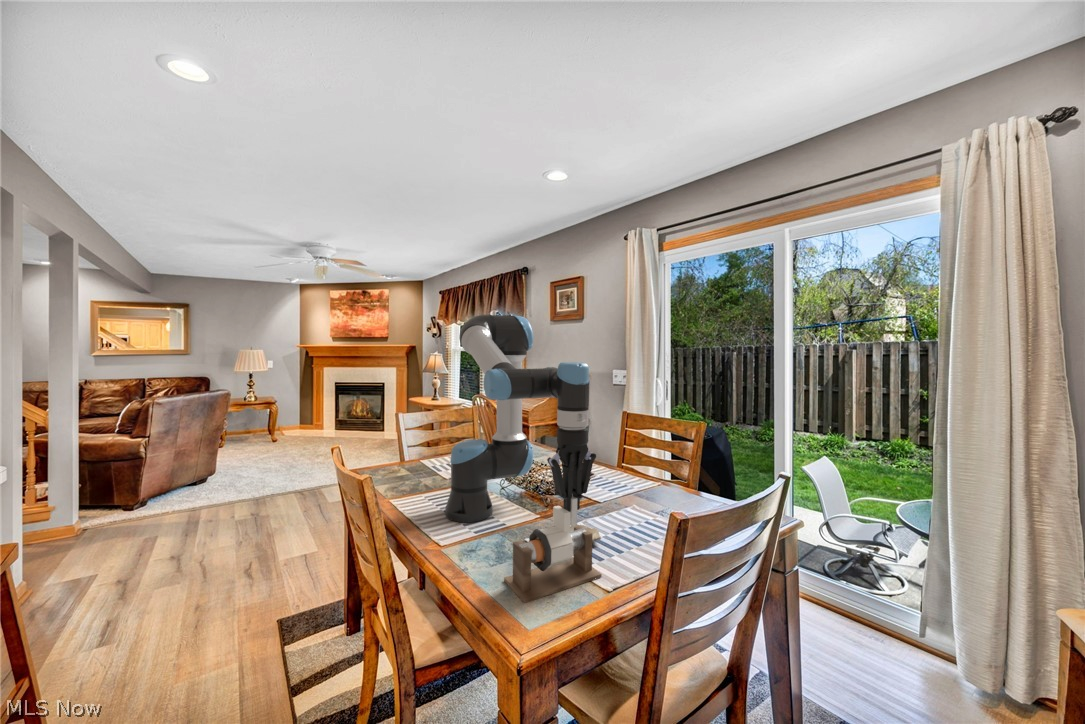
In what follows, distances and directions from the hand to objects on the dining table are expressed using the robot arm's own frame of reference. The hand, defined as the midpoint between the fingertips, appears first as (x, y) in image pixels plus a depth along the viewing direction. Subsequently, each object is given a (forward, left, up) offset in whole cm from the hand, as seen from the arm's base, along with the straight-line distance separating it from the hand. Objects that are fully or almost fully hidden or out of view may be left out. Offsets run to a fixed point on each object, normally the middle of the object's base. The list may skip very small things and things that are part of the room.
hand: (571, 523), depth 106 cm
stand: (0, -5, -12) cm, 13 cm away
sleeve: (0, -5, -8) cm, 10 cm away
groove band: (0, -9, -7) cm, 11 cm away
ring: (0, -9, -9) cm, 12 cm away
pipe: (0, -5, -7) cm, 8 cm away
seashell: (-13, +12, -13) cm, 22 cm away
